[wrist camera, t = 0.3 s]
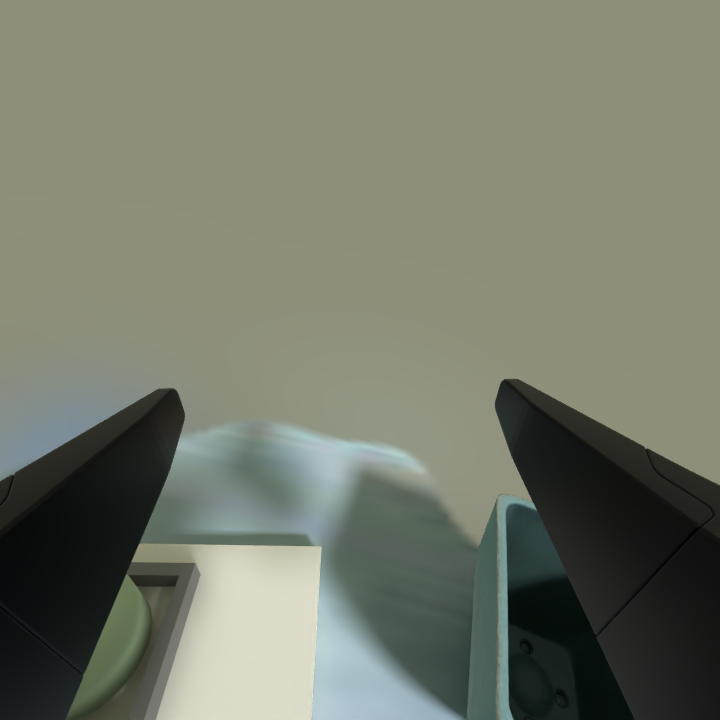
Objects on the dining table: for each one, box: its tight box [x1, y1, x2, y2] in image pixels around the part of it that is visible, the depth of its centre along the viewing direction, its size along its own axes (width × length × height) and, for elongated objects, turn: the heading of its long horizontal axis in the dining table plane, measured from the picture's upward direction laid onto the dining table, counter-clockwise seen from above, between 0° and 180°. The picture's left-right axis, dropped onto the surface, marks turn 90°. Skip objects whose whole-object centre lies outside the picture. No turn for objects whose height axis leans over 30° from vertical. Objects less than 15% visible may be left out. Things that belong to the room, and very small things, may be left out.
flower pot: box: [467, 494, 635, 720], centre depth 15 cm, size 9×9×9 cm
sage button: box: [66, 574, 152, 720], centre depth 14 cm, size 5×5×2 cm
